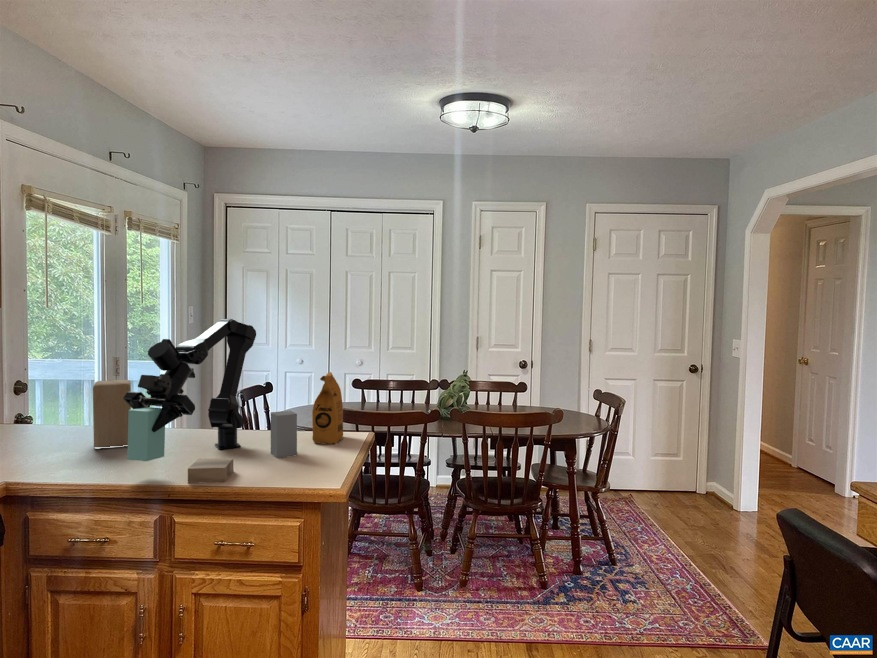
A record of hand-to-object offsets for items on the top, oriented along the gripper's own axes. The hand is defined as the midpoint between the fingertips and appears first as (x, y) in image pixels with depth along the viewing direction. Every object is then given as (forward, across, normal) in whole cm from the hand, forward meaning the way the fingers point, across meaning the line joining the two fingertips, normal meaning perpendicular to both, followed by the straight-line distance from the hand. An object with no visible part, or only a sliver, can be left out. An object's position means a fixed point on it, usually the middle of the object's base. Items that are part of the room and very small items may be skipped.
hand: (142, 430), depth 146 cm
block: (-9, -35, +27) cm, 45 cm away
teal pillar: (+4, 0, +6) cm, 7 cm away
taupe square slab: (+4, +15, +14) cm, 21 cm away
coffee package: (-27, +26, +46) cm, 59 cm away
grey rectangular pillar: (-13, +21, +32) cm, 40 cm away
